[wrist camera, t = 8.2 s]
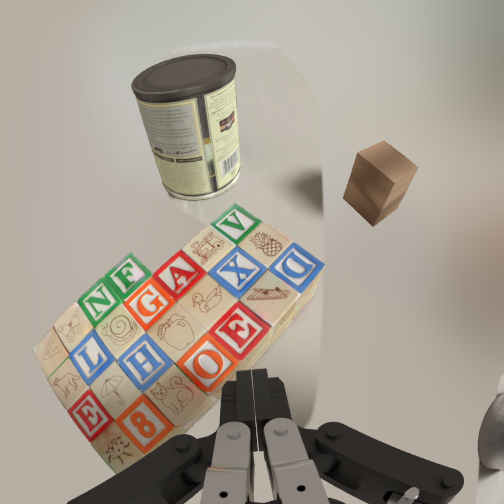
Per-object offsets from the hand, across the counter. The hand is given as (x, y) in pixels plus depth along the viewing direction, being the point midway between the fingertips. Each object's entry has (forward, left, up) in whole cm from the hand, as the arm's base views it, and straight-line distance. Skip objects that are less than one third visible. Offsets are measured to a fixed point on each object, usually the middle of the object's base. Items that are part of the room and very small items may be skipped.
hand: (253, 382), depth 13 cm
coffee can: (+25, -9, -10) cm, 28 cm away
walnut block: (+9, -23, -9) cm, 26 cm away
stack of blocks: (+1, +1, -6) cm, 6 cm away
